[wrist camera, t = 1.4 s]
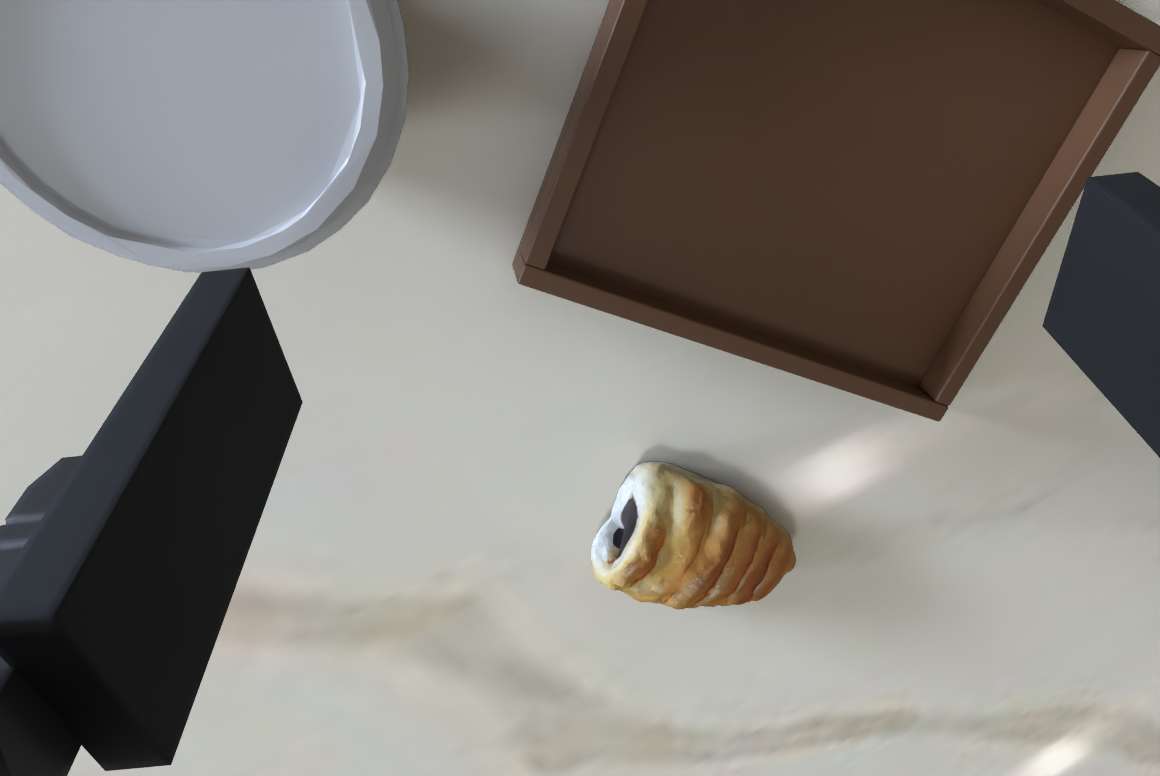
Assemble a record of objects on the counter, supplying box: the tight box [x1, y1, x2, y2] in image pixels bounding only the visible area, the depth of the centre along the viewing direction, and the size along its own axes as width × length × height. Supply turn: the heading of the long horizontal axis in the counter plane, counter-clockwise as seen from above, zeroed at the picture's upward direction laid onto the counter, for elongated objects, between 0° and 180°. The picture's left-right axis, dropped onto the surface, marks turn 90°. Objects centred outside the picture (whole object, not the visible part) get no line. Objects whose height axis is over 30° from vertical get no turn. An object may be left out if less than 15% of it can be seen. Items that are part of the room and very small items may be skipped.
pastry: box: [591, 462, 796, 609], centre depth 37 cm, size 9×7×4 cm
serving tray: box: [513, 0, 1160, 421], centre depth 31 cm, size 17×20×2 cm
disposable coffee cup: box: [0, 0, 409, 272], centre depth 22 cm, size 10×10×12 cm
